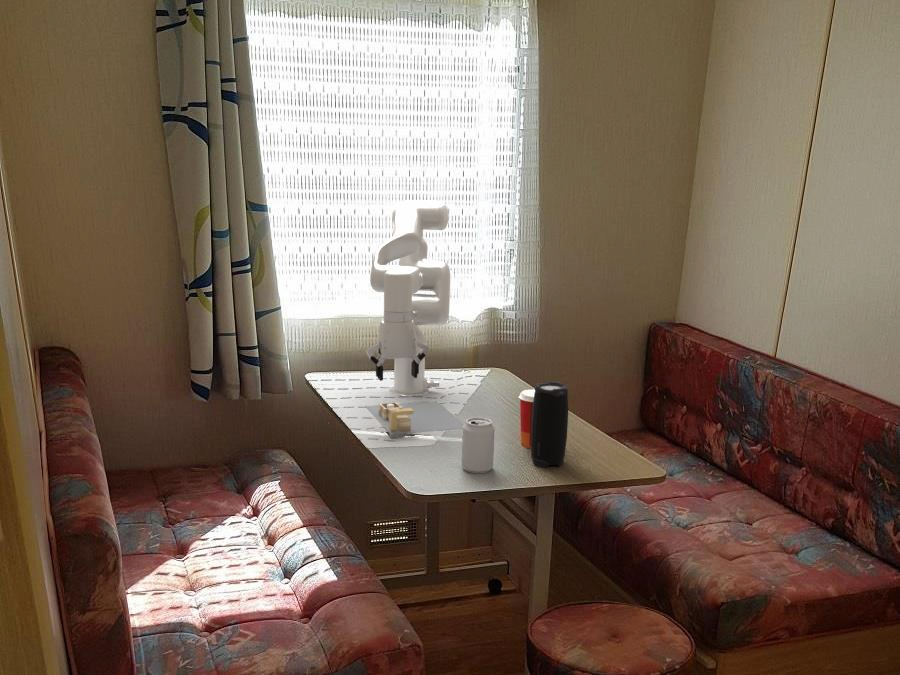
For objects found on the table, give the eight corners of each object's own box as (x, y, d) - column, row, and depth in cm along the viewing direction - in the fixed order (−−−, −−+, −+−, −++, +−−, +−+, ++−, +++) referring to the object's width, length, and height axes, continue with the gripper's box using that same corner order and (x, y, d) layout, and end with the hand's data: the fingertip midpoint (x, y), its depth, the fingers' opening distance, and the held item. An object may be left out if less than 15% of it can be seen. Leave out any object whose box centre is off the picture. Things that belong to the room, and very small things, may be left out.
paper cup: (549, 442, 213) (552, 390, 210) (543, 451, 206) (545, 398, 203) (520, 438, 215) (522, 387, 212) (513, 447, 208) (515, 394, 205)
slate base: (436, 403, 245) (436, 383, 244) (469, 431, 220) (469, 409, 219) (365, 409, 237) (365, 388, 236) (390, 438, 213) (391, 415, 211)
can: (460, 463, 196) (461, 415, 193) (490, 463, 197) (492, 415, 194) (463, 474, 189) (464, 425, 186) (495, 474, 189) (497, 425, 187)
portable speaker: (550, 454, 204) (554, 378, 200) (573, 466, 196) (578, 388, 192) (521, 459, 200) (525, 382, 196) (543, 471, 192) (548, 391, 188)
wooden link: (378, 413, 230) (378, 403, 230) (397, 412, 232) (397, 402, 231) (395, 431, 215) (395, 420, 214) (414, 430, 217) (415, 419, 216)
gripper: (424, 312, 224) (423, 372, 228) (363, 315, 218) (363, 376, 222) (433, 317, 217) (431, 379, 221) (370, 321, 211) (370, 384, 215)
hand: (397, 377), depth 221 cm, fingers open, 9 cm apart
